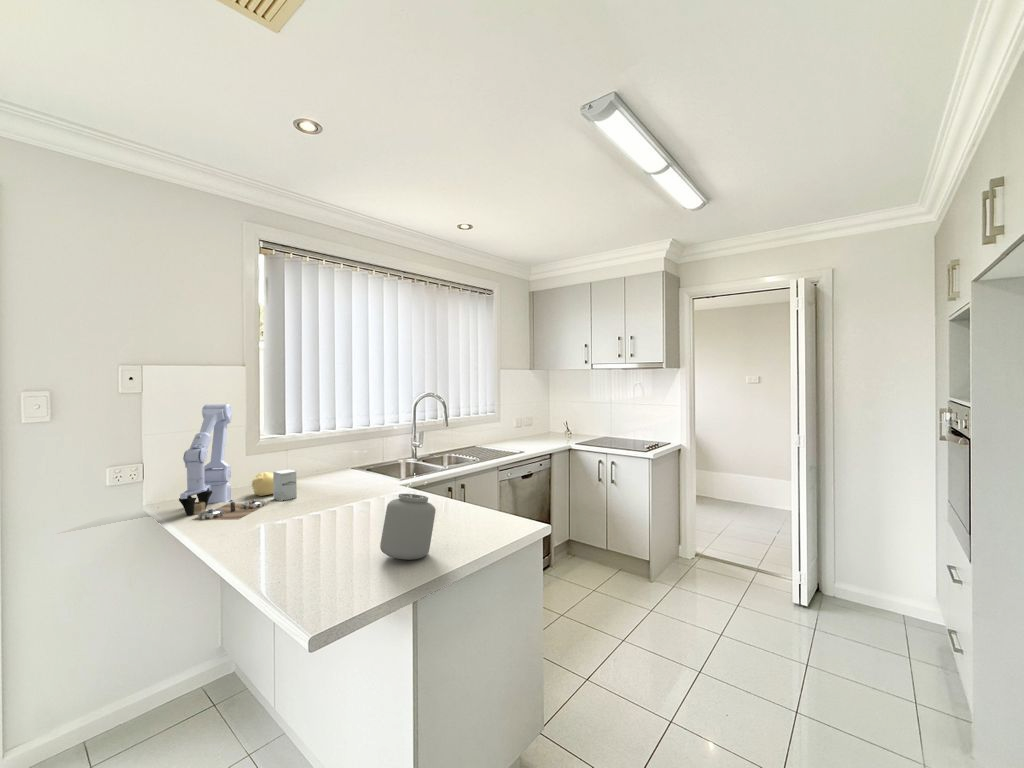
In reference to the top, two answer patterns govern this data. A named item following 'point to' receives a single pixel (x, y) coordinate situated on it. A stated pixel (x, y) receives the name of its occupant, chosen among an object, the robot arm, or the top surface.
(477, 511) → the top surface
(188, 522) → the top surface
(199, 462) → the robot arm
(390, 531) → the jar
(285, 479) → the supplement box
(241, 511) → the gear board
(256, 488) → the sculpture
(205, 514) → the gear
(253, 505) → the gear
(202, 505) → the octagonal wooden tube
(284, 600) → the top surface
